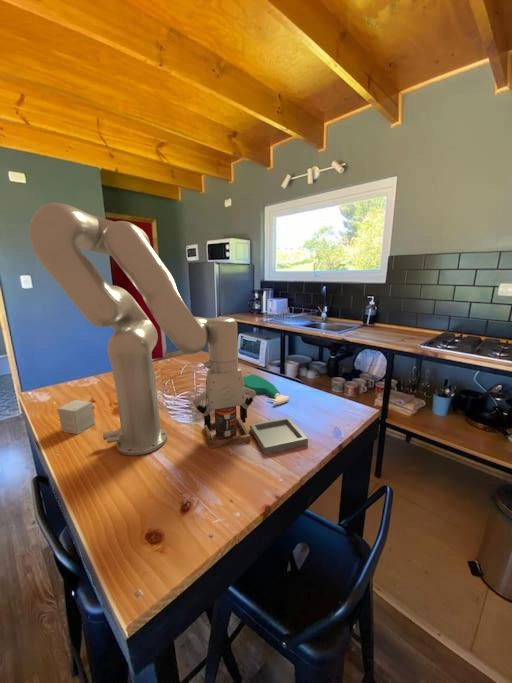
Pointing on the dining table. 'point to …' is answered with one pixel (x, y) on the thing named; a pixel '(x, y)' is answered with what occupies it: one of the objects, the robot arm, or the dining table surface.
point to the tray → (278, 435)
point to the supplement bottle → (226, 422)
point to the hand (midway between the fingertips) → (226, 423)
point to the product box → (76, 416)
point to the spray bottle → (264, 388)
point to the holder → (230, 440)
